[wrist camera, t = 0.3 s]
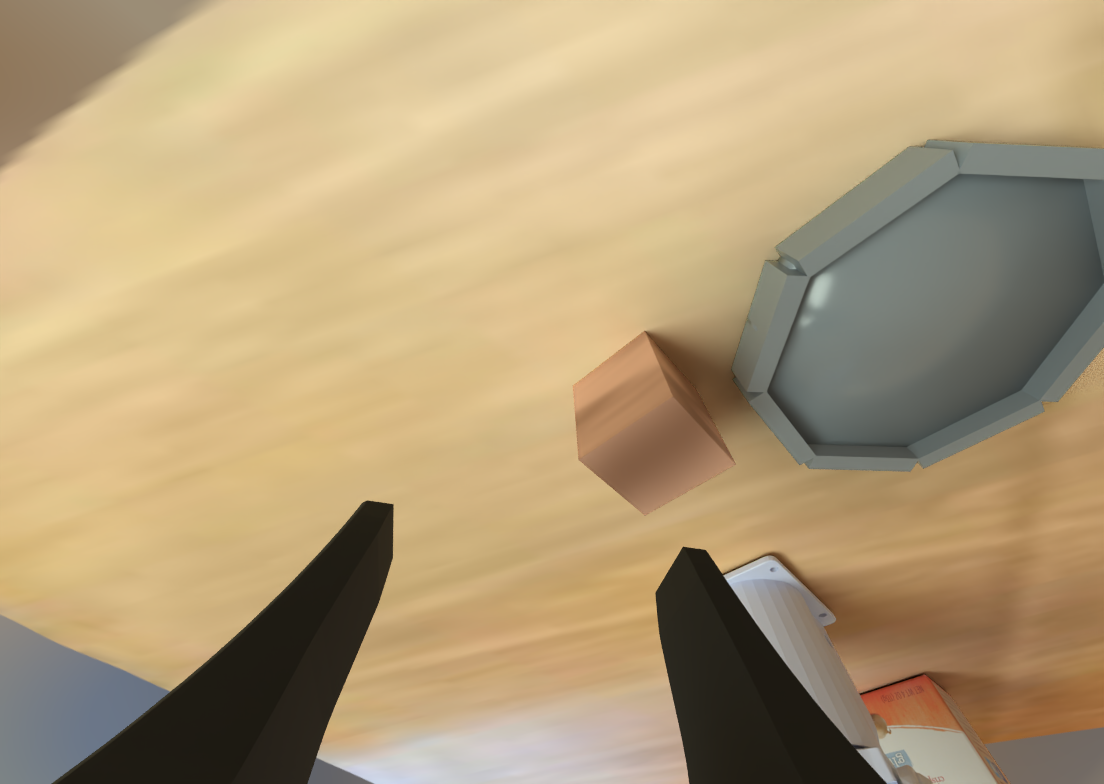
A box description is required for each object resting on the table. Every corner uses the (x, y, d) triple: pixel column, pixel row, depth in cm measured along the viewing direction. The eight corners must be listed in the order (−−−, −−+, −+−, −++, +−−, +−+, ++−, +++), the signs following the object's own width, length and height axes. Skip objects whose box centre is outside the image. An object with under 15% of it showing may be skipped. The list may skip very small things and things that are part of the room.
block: (696, 388, 19) (736, 464, 15) (626, 435, 21) (645, 515, 17) (644, 330, 18) (672, 396, 14) (573, 385, 19) (578, 459, 15)
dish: (1116, 332, 18) (1169, 352, 16) (817, 483, 23) (836, 509, 21) (1055, 37, 12) (1125, 26, 11) (681, 316, 17) (694, 336, 16)
